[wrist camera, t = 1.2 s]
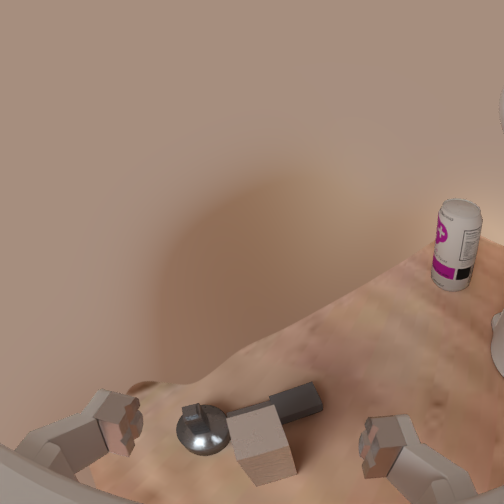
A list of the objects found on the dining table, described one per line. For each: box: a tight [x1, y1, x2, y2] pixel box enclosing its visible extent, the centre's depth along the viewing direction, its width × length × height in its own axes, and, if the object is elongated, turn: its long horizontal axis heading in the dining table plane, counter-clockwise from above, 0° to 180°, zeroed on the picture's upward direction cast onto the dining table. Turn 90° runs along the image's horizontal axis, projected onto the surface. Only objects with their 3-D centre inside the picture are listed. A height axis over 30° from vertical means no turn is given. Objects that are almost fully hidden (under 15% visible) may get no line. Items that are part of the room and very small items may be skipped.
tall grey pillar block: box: [226, 405, 297, 487], centre depth 30 cm, size 5×5×10 cm
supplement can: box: [431, 198, 483, 291], centre depth 48 cm, size 8×8×15 cm
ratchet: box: [176, 382, 323, 456], centre depth 37 cm, size 19×7×6 cm, turn 104°
